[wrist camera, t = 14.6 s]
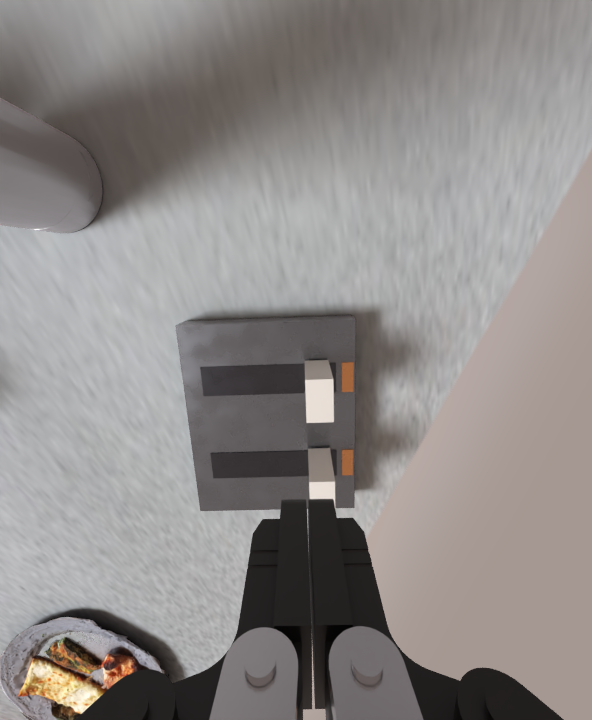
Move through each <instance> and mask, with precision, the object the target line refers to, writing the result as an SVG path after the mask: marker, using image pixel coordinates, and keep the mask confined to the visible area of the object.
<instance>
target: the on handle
mask: <svg viewBox="0 0 592 720" xmlns="http://www.w3.org/2000/svg"><path fill="white" fill-rule="evenodd" d="M305 393H306V423H326V422H334V385H333V376H332V372H331V368H330V365H329V361H328V360H311V361H305Z"/></svg>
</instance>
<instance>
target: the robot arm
mask: <svg viewBox="0 0 592 720" xmlns="http://www.w3.org/2000/svg"><path fill="white" fill-rule="evenodd" d="M102 193H103V190H102V180H101V176H100V173H99V170H98V168H97V165H96V163H95V161H94V159H93V158H92V156H91V155H90V154H89V152H88V151H87V150H86V149H85V148H84V147H83V146H82V145H81V144H80V143H79V142H78V141H76V140H75V139H73V138H72V137H70V136H69V135H67V134H65V133H63V132H62V131H60V130H58V129H56V128H54V127H53V126H51V125H49V124H47V123H45V122H43V121H42V120H40V119H38V118H37V117H35V116H33V115H31V114H29V113H28V112H26V111H24V110H22V109H20V108H18V107H17V106H15V105H13V104H11V103H9V102H7V101H6V100H4V99H2V98H0V225H2V226H10V227H18V228H25V229H32V230H39V231H47V232H55V233H72V232H75V231H79V230H81V229H82V228H84V227H86V226H87V225H88V224H89V223H90V222H91V221H92V220H93V219H94V218H95V216H96V214H97V213H98V211H99V208H100V205H101V202H102ZM308 538H309V552H308ZM309 575H310V576H309ZM311 622H312V623H311ZM312 646H313V670H314V693H315V709H325V710H326V720H563V719H562V718H561V717H560V716H559V715H557V714H556V713H555V712H554V711H553V710H551V709H550V708H549V707H548V706H547V705H545V704H544V703H543V702H542V701H540V700H539V699H538V698H537V697H536V696H535V695H533V694H532V693H531V692H530V691H529V690H527V689H526V688H525V687H524V686H523V685H521V684H520V683H519V682H517V681H516V680H515V679H513V678H512V677H510V676H508V675H506V674H504V673H502V672H500V671H497V670H494V669H490V668H476V669H473V670H470V671H469V672H467V673H466V674H465V675H464V676H463V677H462V679H461V681H459V680H456V679H453V678H450V677H447V676H445V675H442V674H439V673H436V672H433V671H431V670H428V669H426V668H424V667H422V666H420V665H418V664H417V663H415V662H414V661H412V660H411V659H409V658H408V657H407V656H406V655H405V654H404V653H403V652H402V651H401V650H400V648H399V647H398V646H397V645H396V643H395V641H394V640H393V638H392V636H391V634H390V632H389V629H388V626H387V622H386V618H385V614H384V610H383V606H382V602H381V598H380V594H379V590H378V586H377V582H376V578H375V574H374V570H373V567H372V562H371V558H370V554H369V552H368V546H367V542H366V538H365V534H364V531H363V530H362V529H361V528H360V526H359V525H358V524H357V522H356V521H355V520H354V519H353V518H336V511H335V505H334V500H333V499H308V528H307V504H306V499H289V500H281V514H280V519H263V520H262V521H261V523H260V524H259V526H258V527H257V528H256V530H255V531H254V533H253V537H252V543H251V550H250V556H249V562H248V569H247V575H246V581H245V588H244V594H243V600H242V606H241V613H240V619H239V625H238V630H237V634H236V637H235V639H234V642H233V643H232V645H231V647H230V649H229V650H228V651H227V653H226V654H225V655H224V656H223V657H222V658H221V659H220V660H219V661H218V662H217V663H216V664H215V665H213V666H212V667H210V668H209V669H207V670H205V671H203V672H201V673H198V674H196V675H193V676H191V677H188V678H186V679H183V680H181V681H178V682H176V683H173V684H172V683H171V681H170V680H169V678H168V677H167V676H166V675H165V674H163V673H161V672H160V671H157V670H151V669H145V670H139V671H136V672H133V673H131V674H129V675H127V676H125V677H123V678H122V679H120V680H119V681H117V682H116V683H115V684H114V685H112V686H111V687H110V688H109V689H108V690H107V691H106V692H105V693H104V694H103V695H101V696H100V697H99V698H98V699H97V700H96V701H95V702H94V703H93V704H92V705H91V706H90V707H88V708H87V709H86V710H85V711H84V712H83V713H82V714H81V715H80V716H79V717H78V718H77V719H75V720H303V709H312Z"/></svg>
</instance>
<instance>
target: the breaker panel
mask: <svg viewBox="0 0 592 720" xmlns="http://www.w3.org/2000/svg"><path fill="white" fill-rule="evenodd" d="M176 332H177V340H178V347H179V355H180V362H181V370H182V377H183V384H184V392H185V399H186V407H187V414H188V422H189V429H190V436H191V444H192V451H193V459H194V466H195V474H196V481H197V488H198V496H199V503H200V511H223V510H270V509H281V500H289V499H306V504H307V509H308V499H310V494H309V464H308V449H313V448H330V451H331V458H332V465H333V471H334V478H335V508H354V484H355V357H356V319H355V318H354V317H353V316H352V315H335V316H308V317H280V318H253V319H225V320H198V321H184V322H182V323H180V324H178V325H176ZM311 360H328V361H329V365H330V368H331V372H332V376H333V385H334V422H326V423H306V393H305V361H311Z"/></svg>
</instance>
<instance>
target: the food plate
mask: <svg viewBox="0 0 592 720" xmlns="http://www.w3.org/2000/svg"><path fill="white" fill-rule="evenodd" d="M95 625H96V626H95ZM97 626H98V625H97V624H96V623H95V622H94V621H93V620H89V619H87V620H86V619H80V618H72V617H59V618H57V619H53V620H50V621H49V622H47V623H43V624H39V625H35V626H33V627H30V628H28V629H27V630H25V631H23V632H22V633H20V634H19V635H17V636H16V637H15V638H14V639H13V640H12V641H11V642H10V644H9V645H8V646H7V648H6V649H5V650H4V652H3V653H2V656H0V684H1V687H2V689H3V691H4V693H5V694H6V696H7V697H8V698H9V700H10V701H11V702H12V703H14V704H15V705H16V706H17V707H18V708H19V709H20V710H21V712H23V713H25V714H27V715H28V716H29V717H31V718H33V719H34V720H75V719H77V718H78V717H79V716H80V715H81V714H82V713H83V712H84V711H85V710H86V709H87V708H88V707H90V706H91V705H92V704H93V703H94V702H95V701H96V700H97V699H98V698H99V697H100V696H101V695H103V694H104V693H105V692H106V691H107V690H108V689H109V688H110V687H111V686H112V685H114V684H115V683H116V682H117V681H119V680H120V679H122V678H123V677H125V676H127V675H129V674H131V673H133V672H136V671H139V670H145V669H151V670H157V671H160V672H161V673H163V674H165V675H166V671H165V670H162V669H161V668H160V661H159V660H158V659H156V658H155V657H153V656H151V655H150V654H149V653H148V651H147V653H148V654H149V655H150V656H149V655H148V654H147V653H146V652H145V651H144V650H142V649H140V648H138V647H137V645H134V643H132V642H130V641H129V640H127V639H126V638H127V637H128V636H123V635H119V634H115V633H113V632H112V631H109V630H104V629H101V627H99V626H98V627H97ZM78 631H79V632H82V633H84V634H85V635H87V637H85V636H84V635H83V637H85V638H84V639H85V640H86V638H88V640H86V641H88V642H90V643H87V642H86V643H84V642H82V640H83V638H81V641H78V643H80V644H81V642H82V643H83V644H81V646H80V645H77V644H75V643H73V642H72V641H70V640H69V639H67V637H66V636H64V638H63V639H61V640H55V641H54V642H52V643H51V645H50V648H49V649H48V650H47V651H44V653H46V654H47V655H48V656H49V657H50V658H51V659H50V658H47V657H45V656H43V657H41V656H39V655H38V654H39V652H40V651H41V649H42V648H43V647H44V646H45V644H46V643H47V642H48V640H49V639H50V638H53V637H54V636H56V635H57V636H58V635H60V634H66V633H67V632H75V633H77V634H78ZM75 633H74V634H75ZM95 634H98V635H101V636H97V635H95ZM69 635H71V633H70V634H69ZM78 635H79V634H78ZM89 635H93V636H95V637H99V639H101V640H100V641H101V642H102V643H101V645H100V644H98V643H97V642H95V641H94V639H92V638H90V637H89ZM102 639H103V640H102ZM96 641H97V640H96ZM105 643H108V645H106V644H105ZM85 644H86V645H85ZM37 655H38V656H37ZM168 676H169V675H168ZM23 713H22V714H23ZM23 715H24V714H23ZM24 716H25V715H24ZM25 717H26V718H28V719H29V720H32V719H31V718H29V717H27V716H25Z"/></svg>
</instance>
